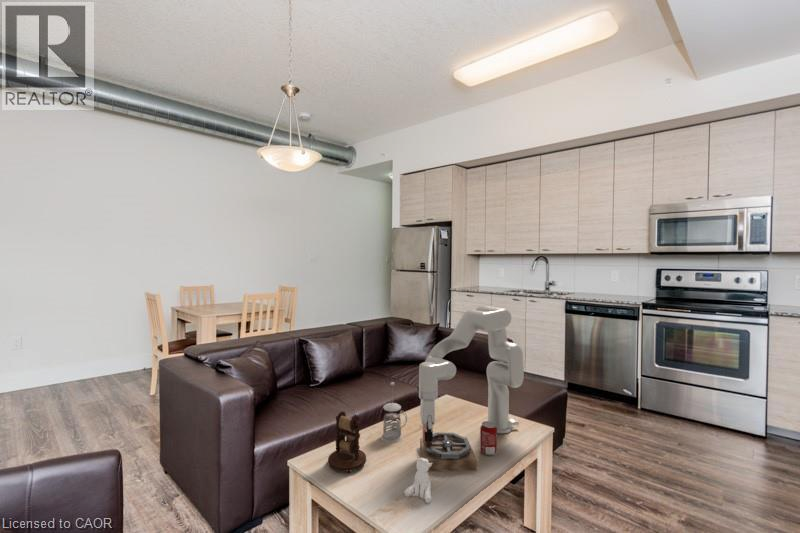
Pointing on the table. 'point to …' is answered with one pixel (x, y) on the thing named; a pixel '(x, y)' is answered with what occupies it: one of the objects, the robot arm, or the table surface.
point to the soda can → (488, 438)
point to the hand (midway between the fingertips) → (427, 437)
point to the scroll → (347, 445)
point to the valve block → (449, 463)
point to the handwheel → (447, 445)
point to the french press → (395, 430)
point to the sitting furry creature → (421, 481)
